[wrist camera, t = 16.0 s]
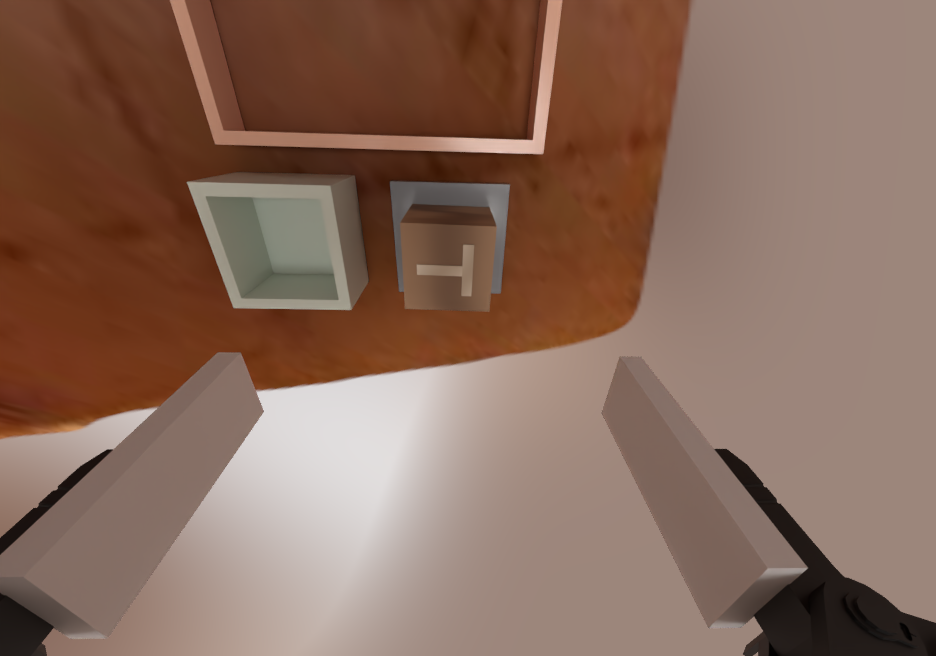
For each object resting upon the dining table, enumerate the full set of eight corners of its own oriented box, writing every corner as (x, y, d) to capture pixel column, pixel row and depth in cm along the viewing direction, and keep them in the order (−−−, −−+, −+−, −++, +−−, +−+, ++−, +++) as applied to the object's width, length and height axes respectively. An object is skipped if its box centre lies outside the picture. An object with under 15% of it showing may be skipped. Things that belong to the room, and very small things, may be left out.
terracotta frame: (237, 143, 24) (215, 144, 22) (175, -75, 19) (138, -101, 16) (535, 152, 25) (543, 154, 23) (560, -56, 19) (572, -79, 17)
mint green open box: (270, 279, 29) (233, 308, 25) (238, 171, 25) (186, 181, 20) (368, 281, 30) (351, 309, 25) (354, 175, 25) (330, 185, 21)
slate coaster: (400, 288, 30) (399, 291, 30) (391, 180, 26) (389, 181, 25) (499, 290, 30) (500, 293, 30) (508, 183, 26) (509, 184, 25)
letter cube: (415, 277, 29) (404, 310, 24) (412, 203, 26) (399, 222, 21) (484, 280, 29) (489, 313, 24) (489, 207, 26) (497, 226, 21)
